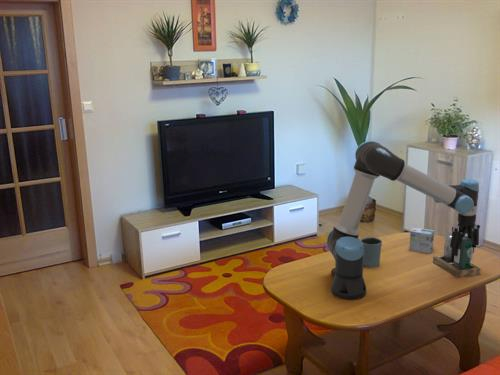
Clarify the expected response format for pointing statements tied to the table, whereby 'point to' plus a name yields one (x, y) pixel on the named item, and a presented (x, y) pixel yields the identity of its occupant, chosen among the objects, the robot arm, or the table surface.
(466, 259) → the can
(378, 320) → the table surface
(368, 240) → the grey cup
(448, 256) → the grey post
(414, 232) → the light bulb box
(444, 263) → the rectangular frame
